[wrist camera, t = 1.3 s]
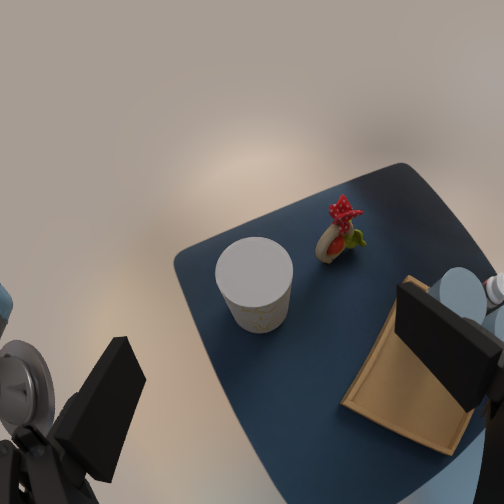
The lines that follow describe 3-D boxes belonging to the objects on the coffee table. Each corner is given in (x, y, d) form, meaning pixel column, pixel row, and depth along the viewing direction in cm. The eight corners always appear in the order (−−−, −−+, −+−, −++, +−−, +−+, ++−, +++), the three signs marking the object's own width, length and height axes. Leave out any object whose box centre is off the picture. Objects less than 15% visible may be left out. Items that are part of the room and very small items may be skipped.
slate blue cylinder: (430, 360, 32) (479, 342, 21) (391, 337, 34) (431, 311, 24) (447, 315, 35) (491, 286, 24) (410, 292, 37) (448, 255, 27)
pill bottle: (471, 286, 37) (497, 264, 30) (487, 298, 35) (514, 279, 28) (465, 307, 35) (493, 288, 28) (481, 320, 34) (510, 303, 26)
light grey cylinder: (250, 343, 37) (239, 322, 26) (221, 297, 40) (202, 260, 30) (299, 313, 38) (308, 280, 28) (268, 270, 42) (265, 225, 32)
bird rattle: (339, 279, 43) (374, 236, 42) (333, 269, 32) (377, 213, 32) (311, 254, 45) (345, 213, 44) (296, 237, 35) (339, 185, 34)
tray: (444, 454, 24) (451, 455, 22) (339, 403, 31) (342, 403, 30) (491, 337, 32) (498, 333, 30) (403, 279, 39) (408, 274, 37)
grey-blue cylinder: (471, 384, 28) (521, 371, 18) (439, 365, 31) (488, 349, 21) (485, 341, 31) (531, 318, 21) (455, 321, 34) (500, 293, 23)
